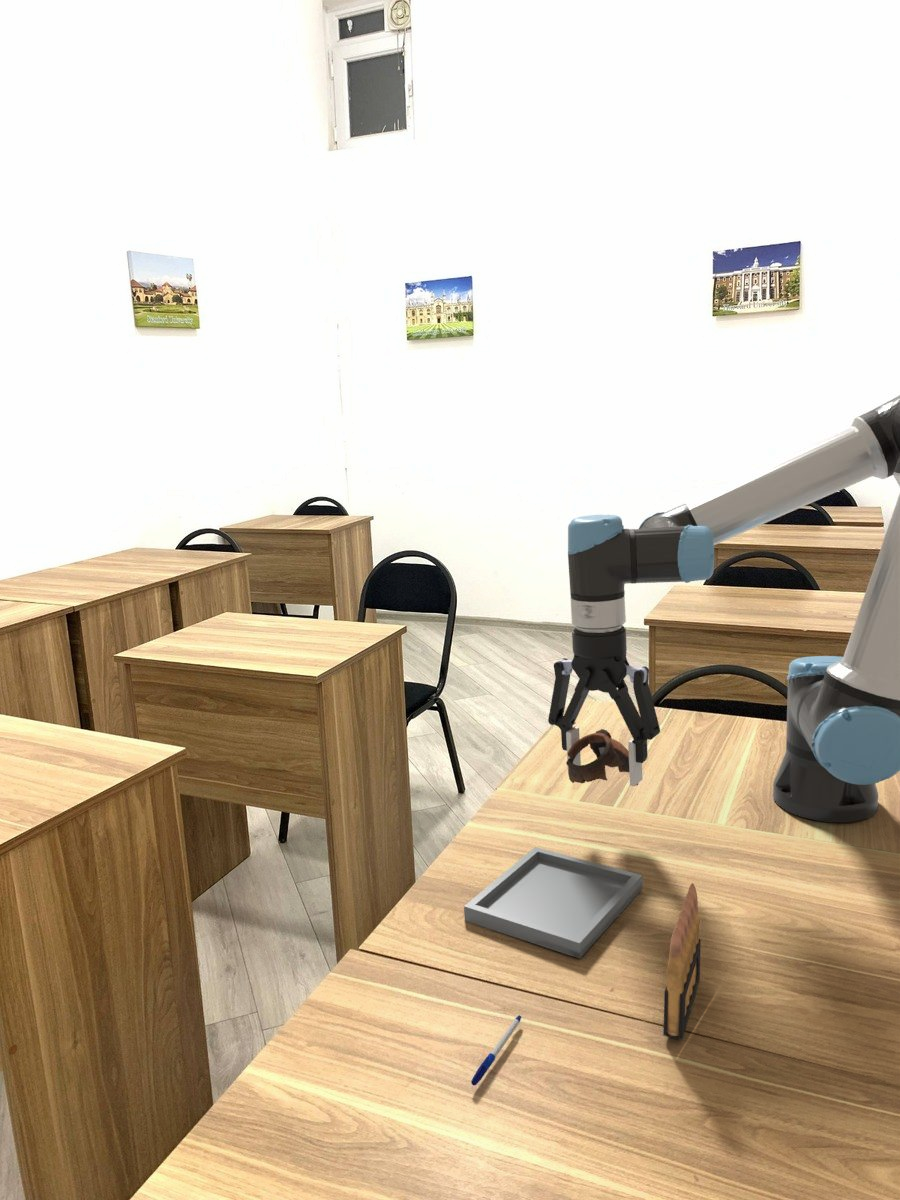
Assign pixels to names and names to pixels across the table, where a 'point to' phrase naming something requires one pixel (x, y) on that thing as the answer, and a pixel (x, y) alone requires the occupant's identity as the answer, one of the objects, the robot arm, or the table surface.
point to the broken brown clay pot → (606, 754)
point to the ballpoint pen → (495, 1052)
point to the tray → (554, 901)
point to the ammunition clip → (682, 968)
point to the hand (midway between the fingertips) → (604, 776)
